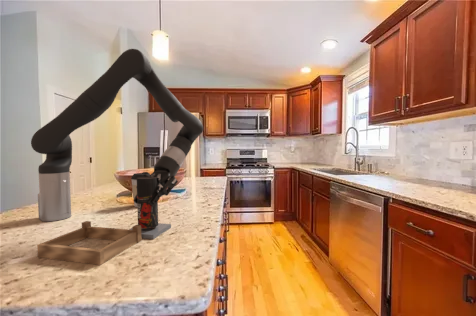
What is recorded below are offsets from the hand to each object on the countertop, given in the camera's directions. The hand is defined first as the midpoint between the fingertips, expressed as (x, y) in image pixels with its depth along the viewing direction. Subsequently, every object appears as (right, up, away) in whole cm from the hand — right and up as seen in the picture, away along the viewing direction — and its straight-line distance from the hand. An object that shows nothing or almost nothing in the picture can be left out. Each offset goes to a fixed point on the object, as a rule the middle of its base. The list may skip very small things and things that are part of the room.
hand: (143, 203), depth 73 cm
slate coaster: (+1, -9, +2) cm, 9 cm away
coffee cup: (-15, -8, +36) cm, 40 cm away
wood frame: (-9, -10, -10) cm, 17 cm away
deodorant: (+1, -7, +2) cm, 8 cm away
